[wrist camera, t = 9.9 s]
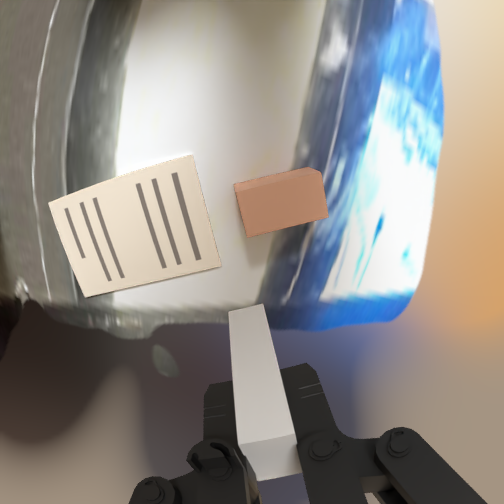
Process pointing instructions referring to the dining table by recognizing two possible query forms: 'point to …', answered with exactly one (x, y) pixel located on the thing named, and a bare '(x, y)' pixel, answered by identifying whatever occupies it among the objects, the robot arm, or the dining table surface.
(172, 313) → the dining table surface
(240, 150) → the dining table surface
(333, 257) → the dining table surface
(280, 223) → the block
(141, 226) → the letter
